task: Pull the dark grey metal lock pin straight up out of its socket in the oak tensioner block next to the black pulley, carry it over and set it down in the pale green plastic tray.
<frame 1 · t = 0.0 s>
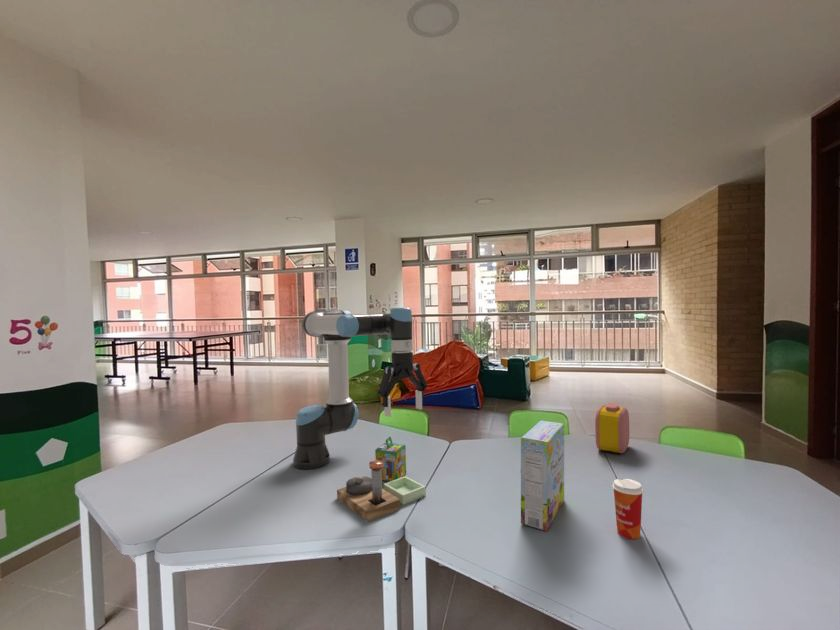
hand: (403, 412, 137), 28 cm above the table, fingers open, 13 cm apart
tensioner block: (367, 503, 130), on the table
tray: (404, 494, 136), on the table
pink and yellow case: (613, 449, 174), on the table
lock pin: (377, 510, 126), resting in tensioner block
paper cup: (628, 534, 109), on the table
snack box: (544, 513, 122), on the table
chalk box: (391, 477, 151), on the table
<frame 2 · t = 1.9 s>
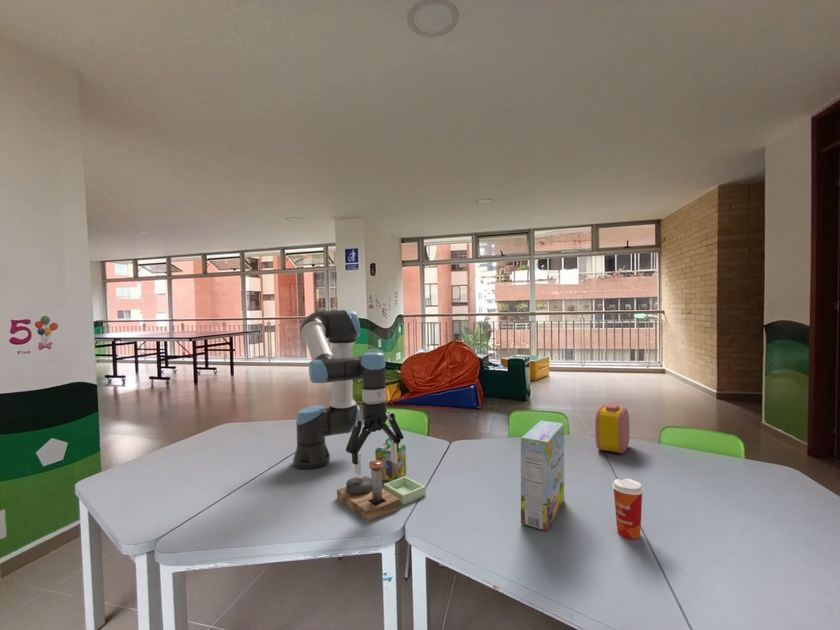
hand: (376, 468, 125), 14 cm above the table, fingers open, 13 cm apart
nothing on the table moved.
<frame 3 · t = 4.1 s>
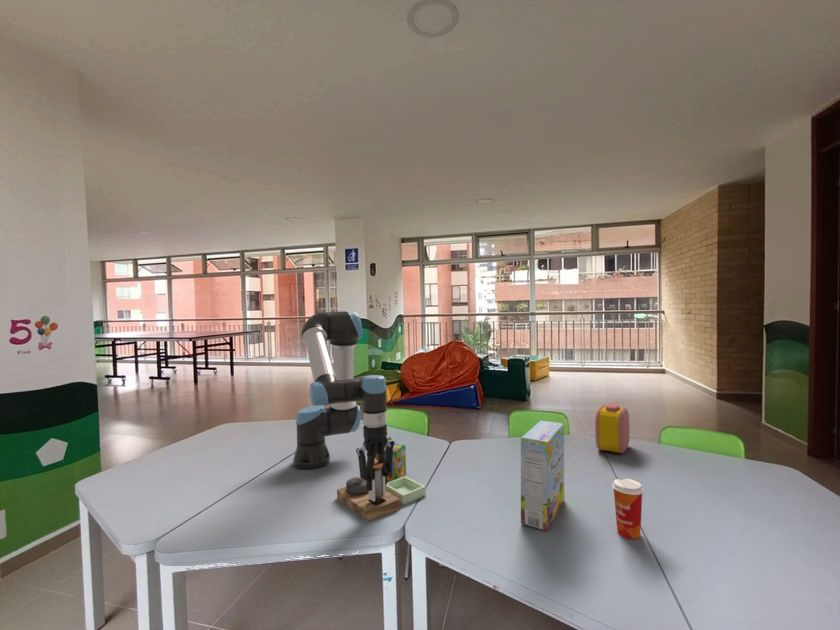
hand: (377, 497, 126), 4 cm above the table, fingers closed on lock pin, 3 cm apart
lock pin: (377, 510, 126), resting in tensioner block, touching gripper
everything else where it was.
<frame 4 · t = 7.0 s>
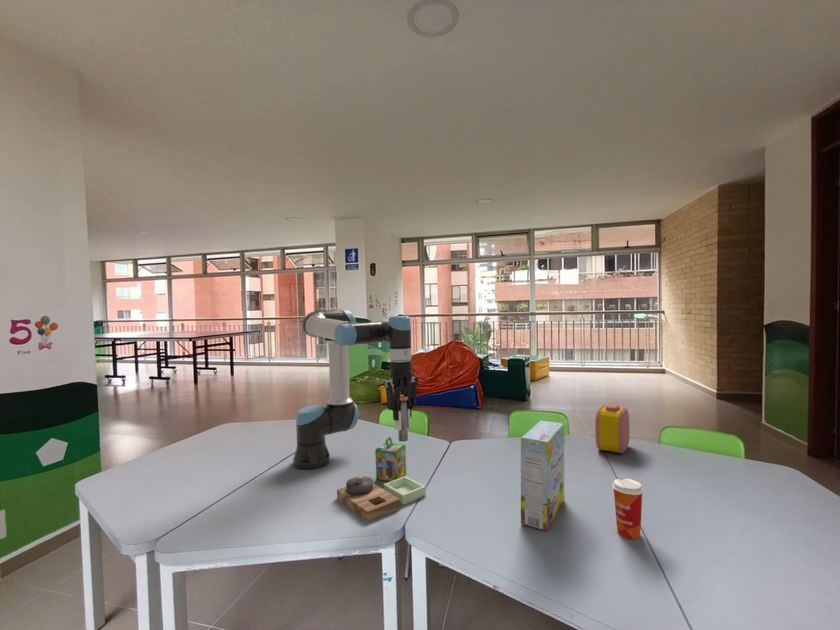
hand: (402, 428, 136), 23 cm above the table, fingers closed on lock pin, 3 cm apart
lock pin: (403, 440, 136), point 19 cm above the table, touching gripper
everything else where it was.
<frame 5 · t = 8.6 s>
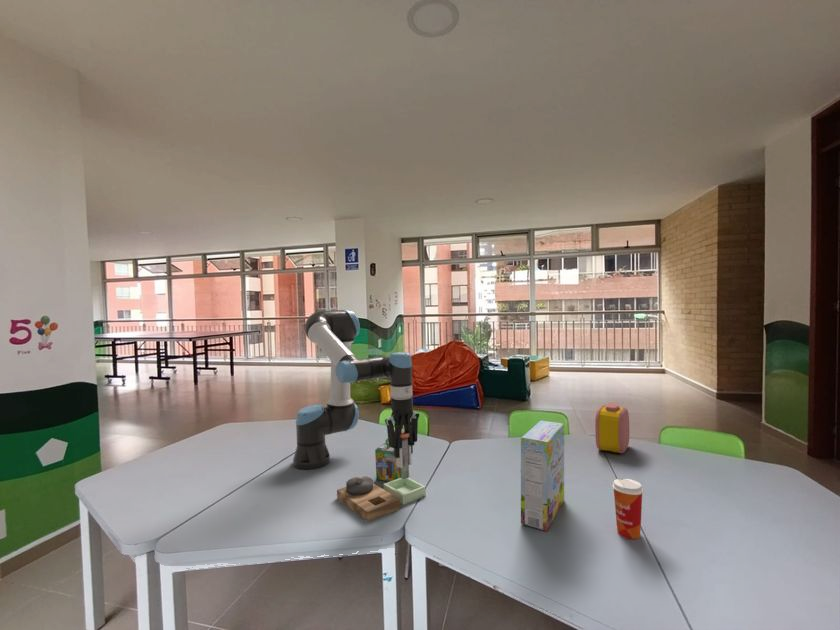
hand: (404, 464, 136), 10 cm above the table, fingers closed on lock pin, 3 cm apart
lock pin: (404, 476, 136), point 6 cm above the table, touching gripper
everything else where it was.
when the fingers open (7 cm above the table, at t = 9.9 s): lock pin drops 2 cm, resting on tray.
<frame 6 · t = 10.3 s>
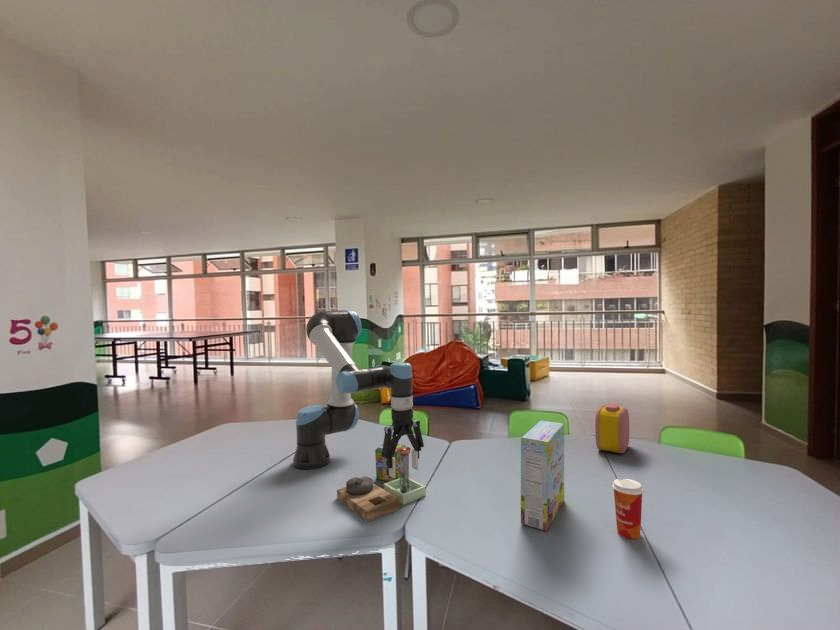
hand: (403, 472, 136), 8 cm above the table, fingers open, 9 cm apart
lock pin: (404, 492, 136), point 1 cm above the table, touching tray
everything else where it was.
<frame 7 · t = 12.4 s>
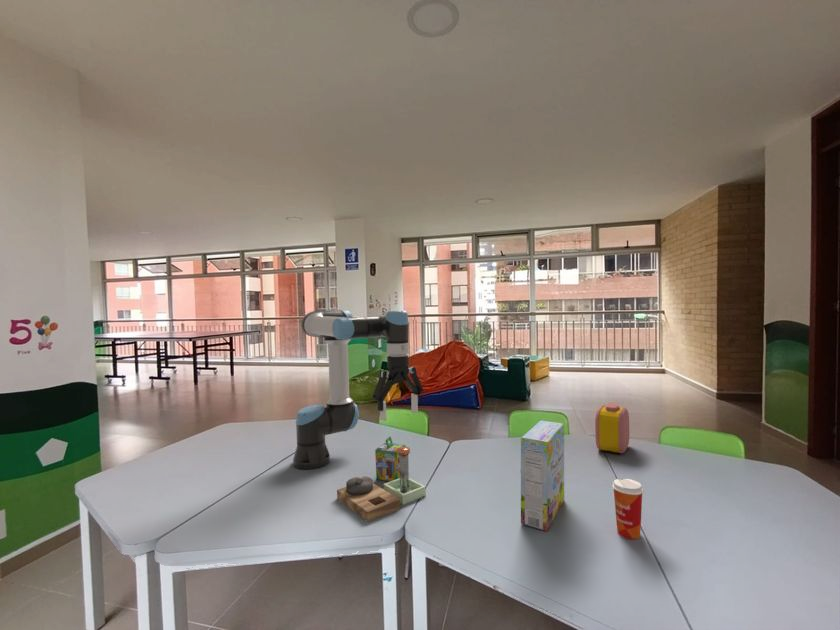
hand: (399, 416, 137), 27 cm above the table, fingers open, 13 cm apart
nothing on the table moved.
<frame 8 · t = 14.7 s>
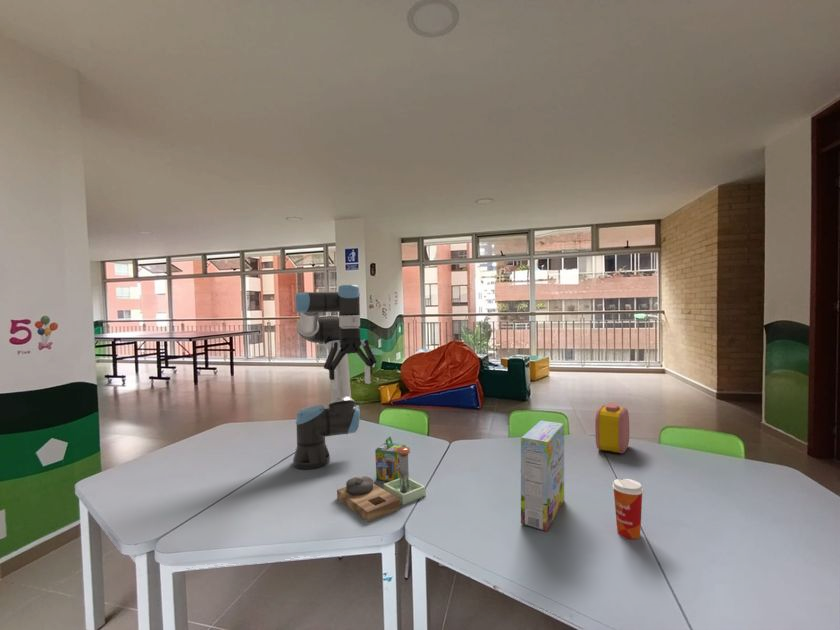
hand: (351, 386, 143), 37 cm above the table, fingers open, 13 cm apart
nothing on the table moved.
at the end: lock pin inside the target area on the tray (0.0 cm from its centre), point 0.6 cm above the tray's base; the gripper is holding nothing; lock pin touching tray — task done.
